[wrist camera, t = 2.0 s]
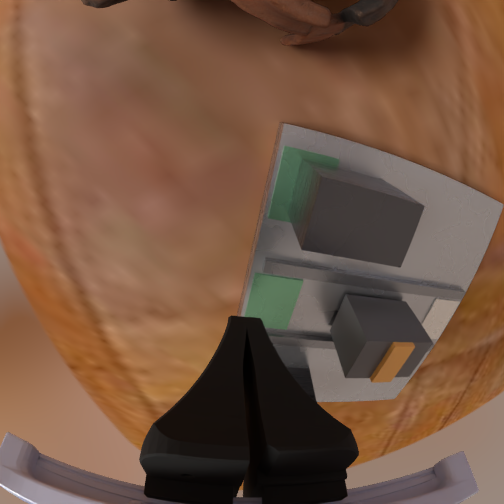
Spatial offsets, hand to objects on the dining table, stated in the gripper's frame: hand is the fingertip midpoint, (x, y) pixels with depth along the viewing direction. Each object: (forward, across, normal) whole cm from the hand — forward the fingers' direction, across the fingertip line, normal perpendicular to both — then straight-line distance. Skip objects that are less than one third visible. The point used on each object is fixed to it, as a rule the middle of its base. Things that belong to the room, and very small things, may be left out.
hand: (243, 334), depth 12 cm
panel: (+4, -7, 0) cm, 8 cm away
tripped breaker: (+2, -7, +1) cm, 7 cm away
